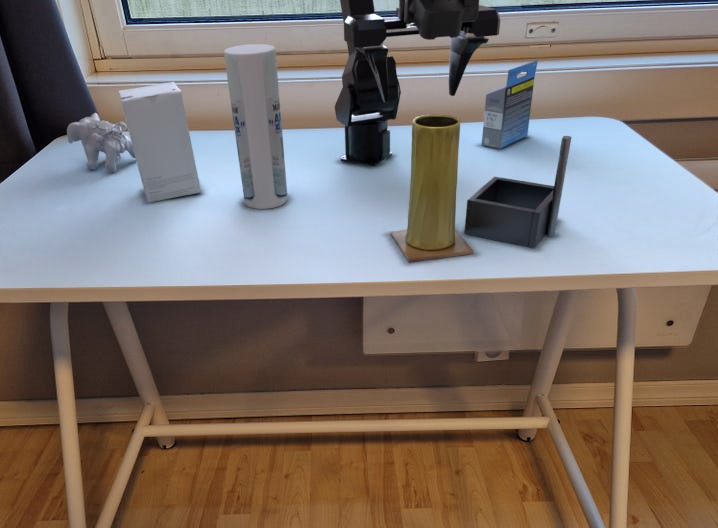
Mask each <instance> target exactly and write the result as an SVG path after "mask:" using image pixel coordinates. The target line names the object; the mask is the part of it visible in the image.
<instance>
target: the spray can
mask: <svg viewBox="0 0 718 528" xmlns="http://www.w3.org/2000/svg"><path fill="white" fill-rule="evenodd" d="M276 50H277V49H276V47H275V46H274V45H272V44H265V43H253V44H252V43H251V44H242V45H240V44H239V45H235V46H234V45H233V46H230V47H227V48H225V49H224V51H223V57H224V62H225V71H226V79H227V85H228V91H229V99H230V106H231V113H232V121H233V122H232V123H233V129H234V135H235V143H236V150H237V151H236V152H237V157H238V163H239V164H238V165H239V172H240V179H241V187H242V193H243V199H244V203H245V205H246V206H247V207H249V208H252V209H257V210H268V209H274V208H277V207H280V206H283V205H284V204H285V203H286V202H287V201H288V186H287V184H288V183H287V173H286V161H285V147H284V137H283V136H284V135H283V124H282V113H281V101H280V100H281V99H280V88H279V76H278V74H279V73H278V63H277V53H276V52H277V51H276Z"/></svg>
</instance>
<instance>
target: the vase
mask: <svg viewBox="0 0 718 528" xmlns="http://www.w3.org/2000/svg"><path fill="white" fill-rule="evenodd" d="M460 135H461V120H460V118H458V117H456V116H453V115H449V114H440V113H439V114H438V113H437V114H435V113H434V114H433V113H432V114H424V115H420V116H417V117H415V118H414V119H413V120H412V123H411V152H410V153H411V154H410V156H411V157H410V179H409V181H410V182H409V195H408V209H407V227H406V230H407V233H406V237H405V240H406V242H407V243H408V244H409V245H410V246H412V247H414V248H418V249H422V250H441V249H445V248H448V247H450V246H451V245H452V244H453V243H454V242H455V240H456V238H455V230H456V215H457V214H456V213H457V189H458V169H459V168H458V166H459V152H460V151H459V150H460V149H459V148H460Z"/></svg>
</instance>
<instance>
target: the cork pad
mask: <svg viewBox="0 0 718 528" xmlns="http://www.w3.org/2000/svg"><path fill="white" fill-rule="evenodd" d="M406 233H407V229H401V230H394V231H390V237H392V239H393V241H394V242H395V243H396V245H397V246H398V248H399V249H400V251H401V253H402V255H404V258H406V260H407V262H408V263H414V262H423V261H430V260H435V259H436V260H438V259H445V258H451V257H459V256H466V255H473V254H474V253H475V251H474V249H473V248H472V247H471V246H470V244H469V243H467V241H466V240H465V239H464V238H463V236H462V235H461V234H460V233H459V232H458V231H457V230H456V229H455V238H456V240H455V242H454V243H453V244H452V245H451V246H450V247H448V248H445V249H441V250H422V249H418V248H414V247H412V246H410V245H409V244H408V243H407V242H406V240H405V237H406Z"/></svg>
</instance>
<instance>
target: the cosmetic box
mask: <svg viewBox="0 0 718 528" xmlns="http://www.w3.org/2000/svg"><path fill="white" fill-rule="evenodd" d="M118 96H119V99H120V104H121V107H122V112H123V116H124V120H125V124H126V125H127V131H128V135H129V138H130V139H131V142H132V146H133V150H134V154H135V158H136V159H135V158H134V159H135V161H136V164H137V165H136V166H137V168H138V169H137V170H138V173H139V176H140V180H141V184H142V188H143V191H144V194H145V198H146V200H147V203H153V202H159V201H164V200H169V199H174V198H179V197H184V196H190V195H191V196H192V195H195V194H200V193H202V188H201V185H200V184H201V183H200V178H199V174H198V169H197V165H196V159H195V153H194V150H193V144H192V138H191V133H190V128H189V124H188V120H187V119H188V118H187V113H186V108H185V104H184V97H183V92H182V90H181V89H180V88H179V87H178V85H177V84H176V82H175V81H170V82H164V83H159V84H153V85H146V86H141V87H135V88H128V89H127V88H126V89H121V90H118Z"/></svg>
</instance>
